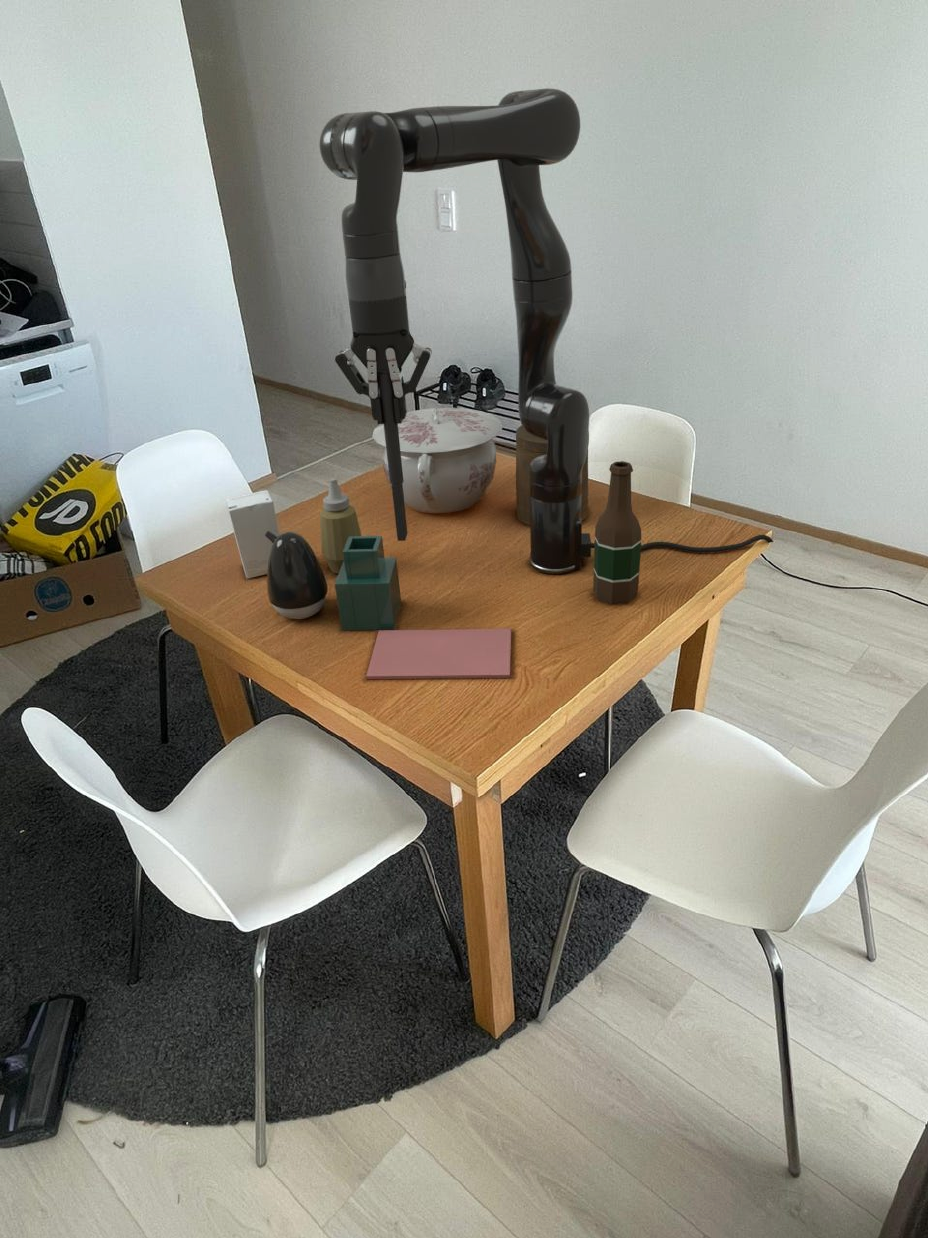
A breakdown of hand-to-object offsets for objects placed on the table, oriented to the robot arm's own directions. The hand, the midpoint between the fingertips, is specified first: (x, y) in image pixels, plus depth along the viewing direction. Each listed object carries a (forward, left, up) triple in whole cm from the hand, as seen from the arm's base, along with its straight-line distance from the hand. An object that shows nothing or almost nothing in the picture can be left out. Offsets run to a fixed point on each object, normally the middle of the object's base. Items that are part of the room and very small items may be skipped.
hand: (390, 421), depth 116 cm
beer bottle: (-34, -13, -37) cm, 52 cm away
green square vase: (+8, -7, -37) cm, 38 cm away
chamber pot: (0, -55, -37) cm, 67 cm away
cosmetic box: (+32, -25, -37) cm, 55 cm away
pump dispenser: (+21, -9, -37) cm, 43 cm away
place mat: (-5, +5, -37) cm, 37 cm away
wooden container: (-24, -47, -37) cm, 65 cm away
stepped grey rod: (0, 0, -18) cm, 18 cm away
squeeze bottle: (+16, -25, -37) cm, 48 cm away
